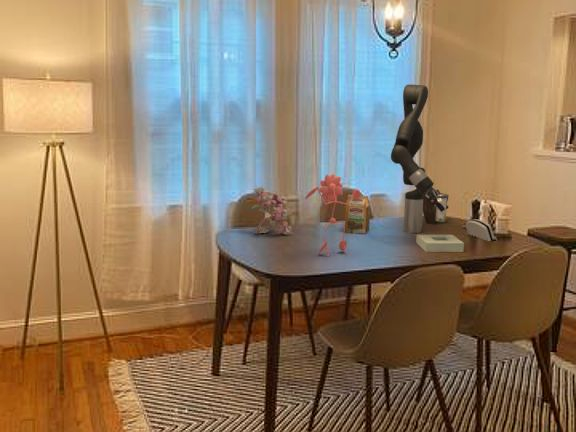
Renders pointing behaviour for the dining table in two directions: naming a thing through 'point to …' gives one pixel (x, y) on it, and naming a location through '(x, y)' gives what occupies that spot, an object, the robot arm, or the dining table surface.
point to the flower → (277, 212)
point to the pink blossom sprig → (331, 192)
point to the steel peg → (443, 200)
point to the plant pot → (430, 211)
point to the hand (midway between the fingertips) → (445, 209)
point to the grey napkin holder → (480, 229)
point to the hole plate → (440, 243)
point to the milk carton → (357, 215)
